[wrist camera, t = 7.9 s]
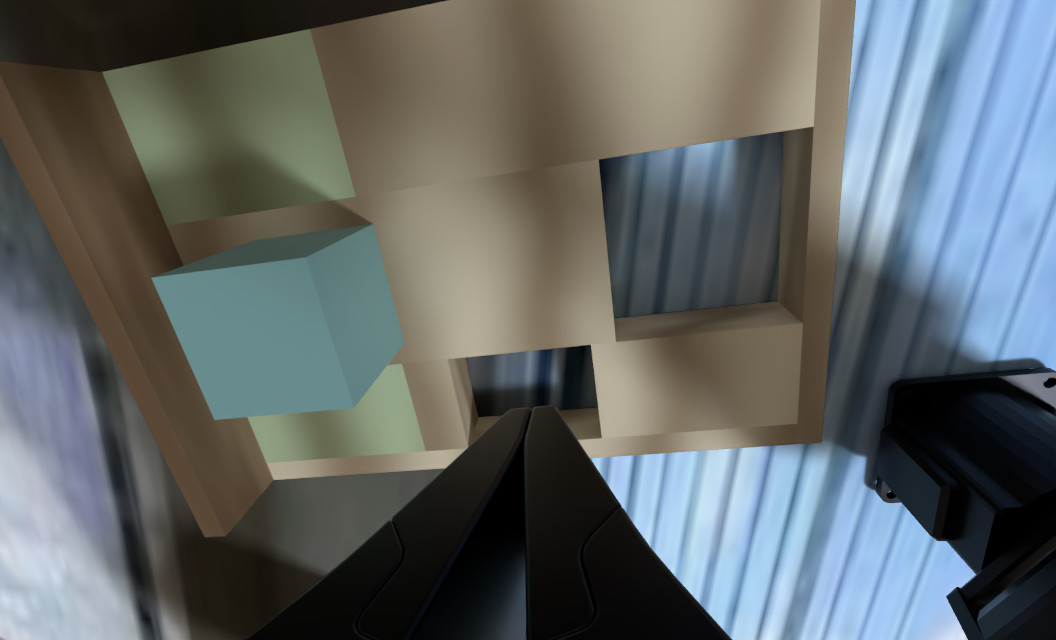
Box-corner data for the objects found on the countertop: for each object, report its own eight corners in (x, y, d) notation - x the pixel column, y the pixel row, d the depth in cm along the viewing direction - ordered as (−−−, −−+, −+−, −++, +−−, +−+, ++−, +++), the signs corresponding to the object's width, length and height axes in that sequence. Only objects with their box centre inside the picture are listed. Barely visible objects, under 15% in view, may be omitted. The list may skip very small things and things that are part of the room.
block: (372, 223, 18) (305, 257, 14) (404, 343, 20) (354, 408, 16) (253, 240, 19) (150, 277, 15) (293, 354, 21) (214, 419, 16)
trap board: (821, -56, 16) (950, -150, 11) (796, 409, 23) (868, 502, 17) (136, 82, 20) (-36, 66, 14) (283, 449, 26) (204, 537, 21)
